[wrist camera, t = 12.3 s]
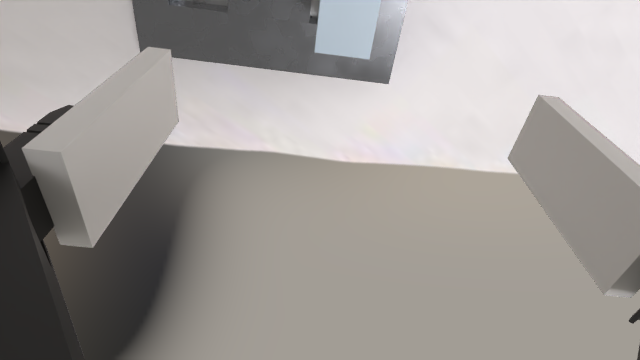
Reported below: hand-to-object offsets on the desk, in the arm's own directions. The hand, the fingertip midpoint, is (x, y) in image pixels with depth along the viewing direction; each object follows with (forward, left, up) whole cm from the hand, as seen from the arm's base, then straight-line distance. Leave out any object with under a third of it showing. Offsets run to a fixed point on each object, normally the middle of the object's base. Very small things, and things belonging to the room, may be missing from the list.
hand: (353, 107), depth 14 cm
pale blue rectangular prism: (0, 0, -24) cm, 24 cm away
